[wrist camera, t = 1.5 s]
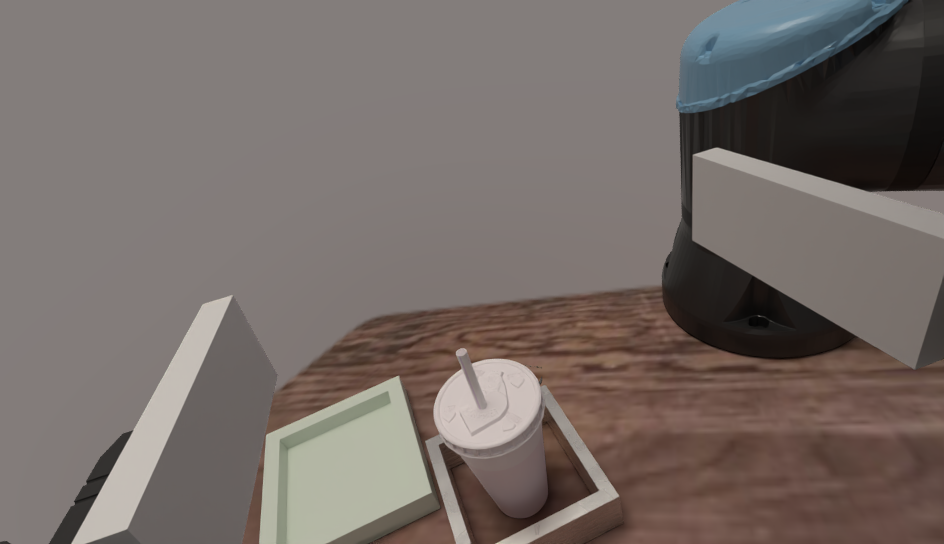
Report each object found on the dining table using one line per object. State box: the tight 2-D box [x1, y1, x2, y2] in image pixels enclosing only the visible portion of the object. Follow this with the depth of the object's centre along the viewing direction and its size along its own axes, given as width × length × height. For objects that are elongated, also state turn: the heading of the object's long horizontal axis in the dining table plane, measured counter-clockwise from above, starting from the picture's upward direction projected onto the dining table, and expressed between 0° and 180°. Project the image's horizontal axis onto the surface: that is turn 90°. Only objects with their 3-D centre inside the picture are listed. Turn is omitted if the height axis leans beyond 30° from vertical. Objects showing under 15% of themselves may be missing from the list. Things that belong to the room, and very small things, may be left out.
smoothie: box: [434, 348, 548, 518], centre depth 28 cm, size 6×6×14 cm
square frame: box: [425, 385, 624, 544], centre depth 31 cm, size 10×10×3 cm
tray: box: [259, 376, 441, 544], centre depth 36 cm, size 12×12×2 cm
